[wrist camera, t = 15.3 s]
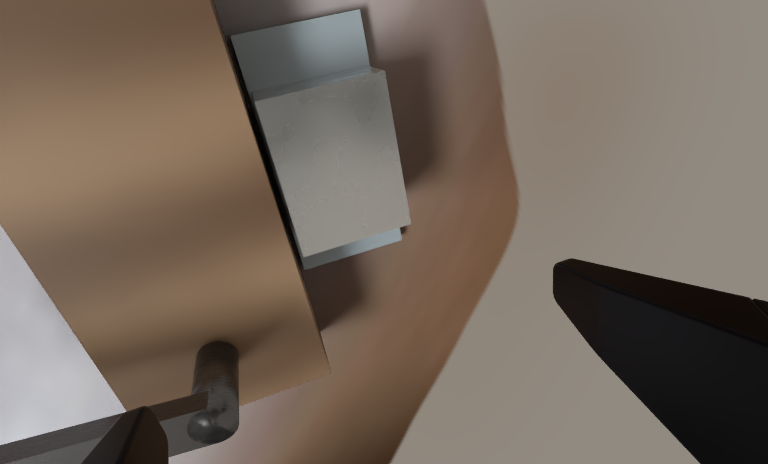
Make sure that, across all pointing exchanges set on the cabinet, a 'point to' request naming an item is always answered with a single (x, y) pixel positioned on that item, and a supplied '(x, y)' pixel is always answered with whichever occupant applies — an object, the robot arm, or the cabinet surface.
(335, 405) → the cabinet surface
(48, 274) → the body
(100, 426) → the lever
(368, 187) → the grey block
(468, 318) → the cabinet surface
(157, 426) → the robot arm
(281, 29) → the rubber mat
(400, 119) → the cabinet surface
